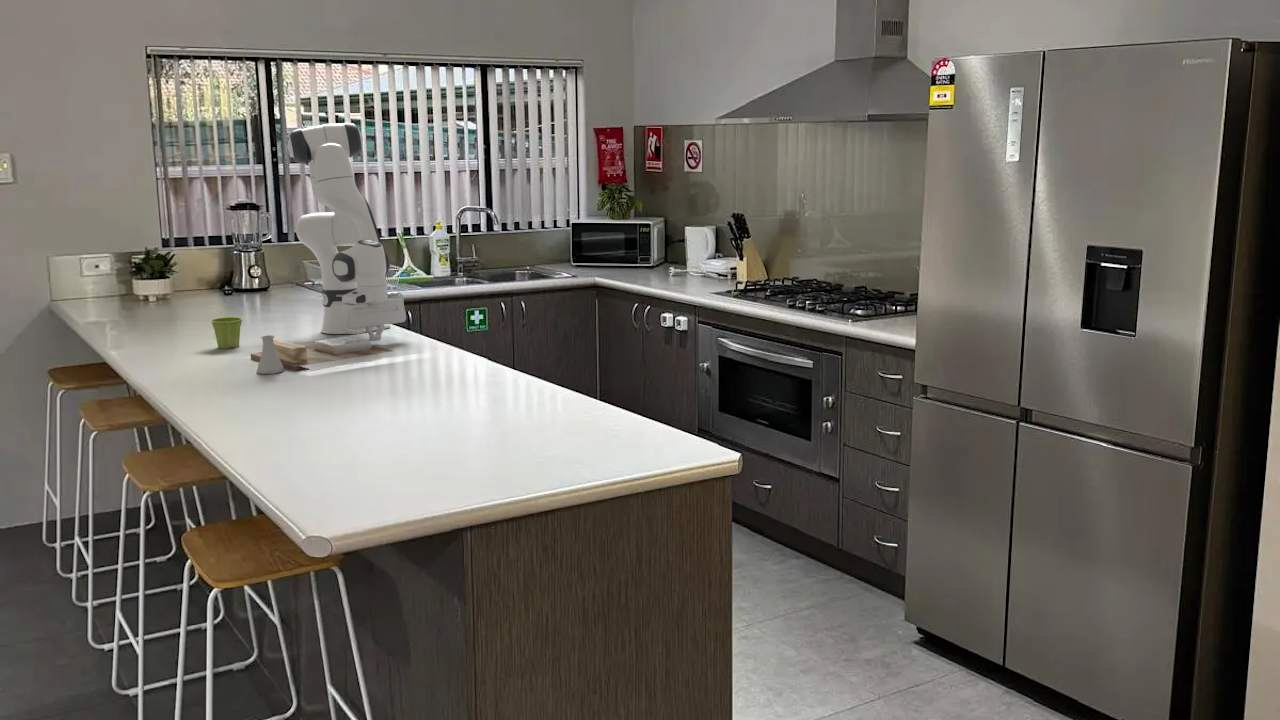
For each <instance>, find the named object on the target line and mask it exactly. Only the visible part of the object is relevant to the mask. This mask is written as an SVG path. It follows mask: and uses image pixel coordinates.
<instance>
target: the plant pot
mask: <svg viewBox="0 0 1280 720" xmlns="http://www.w3.org/2000/svg"><path fill="white" fill-rule="evenodd" d="M209 321H210V323H212V328H213V331H214V335H215V339H216V343H217V348H219V349H224V350H228V349H231V348H233V349H236V348H238V347H240V338H241V337H240V336H241V326H242V321H243V318H242V317H237V316H226V317H225V316H224V317H217V318H212V319H210V320H209Z"/></svg>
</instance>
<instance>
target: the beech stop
mask: <svg viewBox="0 0 1280 720" xmlns="http://www.w3.org/2000/svg"><path fill="white" fill-rule="evenodd" d="M273 343H274V347H275V350H276V352H277V355H278V357H279V359H282V360H285V361H289V362H292V363H297V362H303V361H307V349H306V347H305V346H306V345H301V344H297V343H292V342H288V341H284V340H280V339H277V338H276V339H273Z"/></svg>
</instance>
